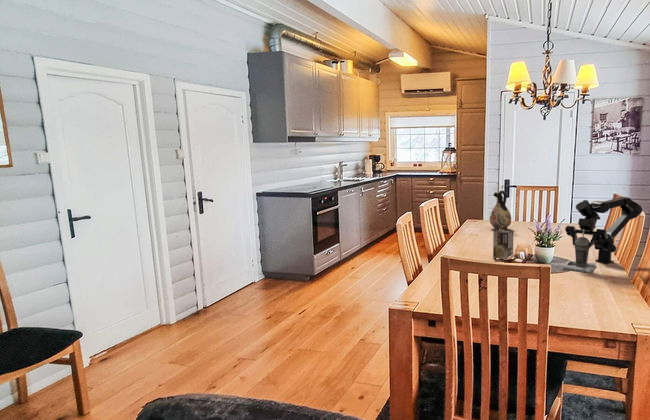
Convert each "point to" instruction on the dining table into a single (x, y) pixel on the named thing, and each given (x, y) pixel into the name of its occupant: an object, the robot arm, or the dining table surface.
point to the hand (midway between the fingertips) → (581, 245)
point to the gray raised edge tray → (580, 270)
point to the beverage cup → (581, 251)
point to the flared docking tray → (578, 267)
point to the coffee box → (502, 244)
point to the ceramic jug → (500, 212)
